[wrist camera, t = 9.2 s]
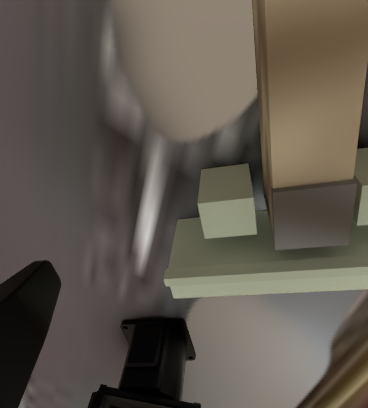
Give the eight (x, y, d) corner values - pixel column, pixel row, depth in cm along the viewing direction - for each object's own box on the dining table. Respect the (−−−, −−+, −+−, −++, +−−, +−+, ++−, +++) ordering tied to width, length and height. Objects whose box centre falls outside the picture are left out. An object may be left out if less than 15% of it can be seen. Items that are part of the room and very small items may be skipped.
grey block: (416, 219, 20) (482, 293, 15) (183, 240, 23) (172, 306, 18) (439, 138, 17) (531, 196, 12) (165, 174, 20) (147, 232, 15)
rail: (320, 189, 20) (349, 244, 15) (263, 195, 20) (275, 250, 16) (346, -278, 10) (448, -503, 5) (236, -236, 11) (246, -406, 6)
